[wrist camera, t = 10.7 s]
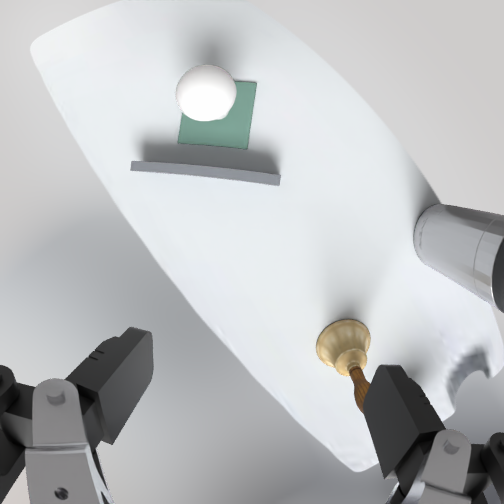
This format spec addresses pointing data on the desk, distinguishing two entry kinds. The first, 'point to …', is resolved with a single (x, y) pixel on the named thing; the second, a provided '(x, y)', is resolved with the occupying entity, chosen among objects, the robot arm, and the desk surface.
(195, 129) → the pad
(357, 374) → the hand bell
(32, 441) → the robot arm
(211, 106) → the lightbulb
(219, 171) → the wall
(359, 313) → the desk surface
